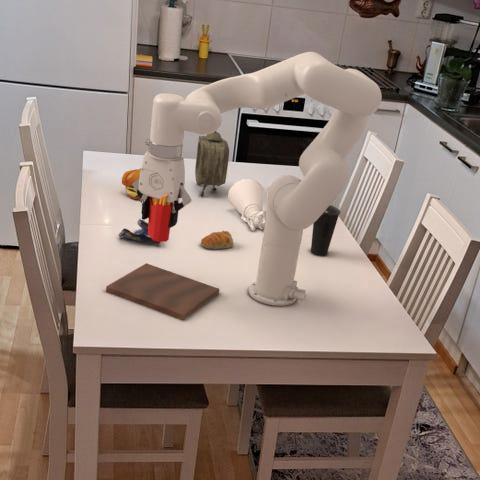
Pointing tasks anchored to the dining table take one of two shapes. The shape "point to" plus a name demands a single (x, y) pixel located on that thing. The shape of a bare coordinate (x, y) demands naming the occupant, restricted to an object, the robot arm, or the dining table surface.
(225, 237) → the pastry
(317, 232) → the drinking cup
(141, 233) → the snack package
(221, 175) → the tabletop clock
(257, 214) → the rocket engine
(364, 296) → the dining table surface
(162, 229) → the french fries
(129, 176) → the cheeseburger
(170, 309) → the cutting board
